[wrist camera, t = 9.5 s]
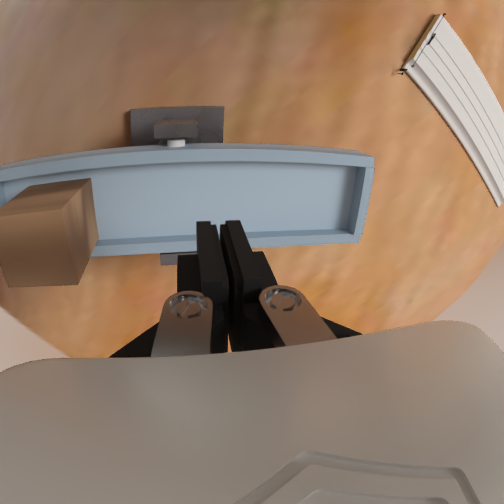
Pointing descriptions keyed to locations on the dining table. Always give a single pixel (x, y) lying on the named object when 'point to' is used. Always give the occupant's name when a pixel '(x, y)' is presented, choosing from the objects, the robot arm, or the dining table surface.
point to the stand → (176, 134)
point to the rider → (48, 234)
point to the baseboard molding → (461, 99)
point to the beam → (211, 192)
